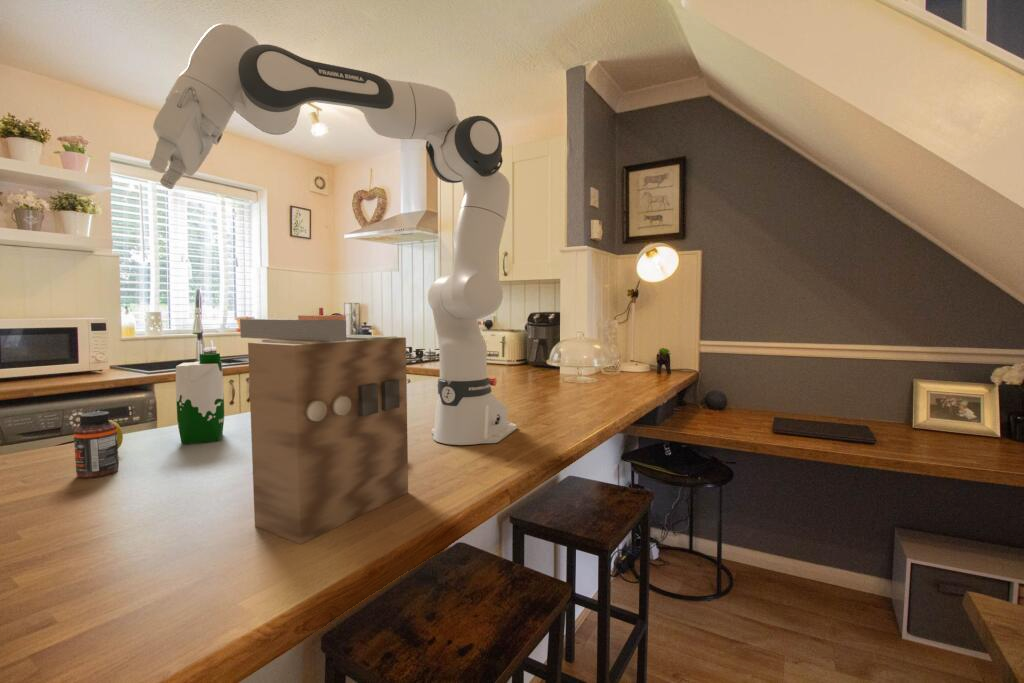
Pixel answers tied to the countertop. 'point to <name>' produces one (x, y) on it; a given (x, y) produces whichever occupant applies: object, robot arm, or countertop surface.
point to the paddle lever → (297, 328)
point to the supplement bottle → (96, 445)
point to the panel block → (326, 431)
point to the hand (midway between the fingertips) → (160, 178)
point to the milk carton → (200, 399)
